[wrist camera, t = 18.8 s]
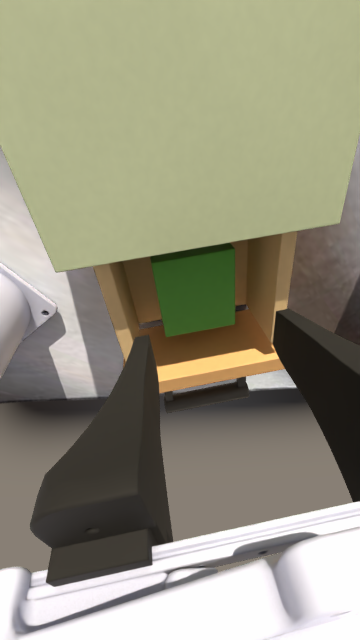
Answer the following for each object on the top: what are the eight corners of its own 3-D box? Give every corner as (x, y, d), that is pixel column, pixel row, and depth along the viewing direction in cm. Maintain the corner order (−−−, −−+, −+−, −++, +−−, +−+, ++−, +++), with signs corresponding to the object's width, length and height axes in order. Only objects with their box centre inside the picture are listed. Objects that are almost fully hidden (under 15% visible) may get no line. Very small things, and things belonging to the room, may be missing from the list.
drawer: (255, 358, 26) (282, 410, 21) (139, 380, 26) (141, 439, 21) (267, 150, 16) (326, 160, 11) (76, 181, 16) (51, 205, 11)
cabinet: (268, 190, 18) (339, 224, 12) (83, 221, 18) (55, 273, 11) (294, -198, 10) (554, -720, 4) (-44, -162, 10) (-372, -701, 3)
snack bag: (145, 229, 17) (148, 250, 14) (218, 217, 17) (235, 235, 14) (162, 315, 21) (167, 345, 18) (221, 305, 21) (235, 333, 18)
